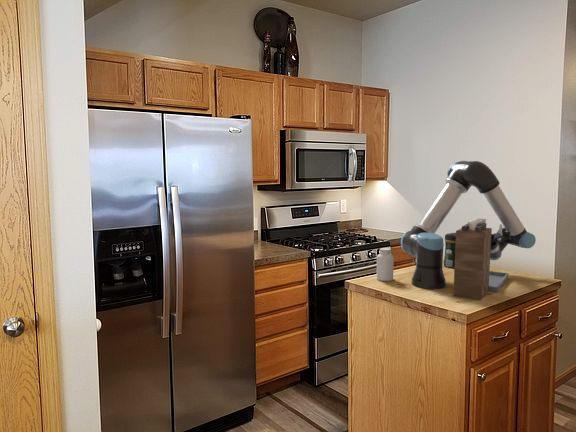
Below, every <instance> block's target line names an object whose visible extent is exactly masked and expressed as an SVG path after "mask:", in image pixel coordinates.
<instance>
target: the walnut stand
mask: <svg viewBox="0 0 576 432" xmlns="http://www.w3.org/2000/svg"><path fill="white" fill-rule="evenodd" d="M468 229H469V223H468V222H467V223H466V224H464V225H462V226H461V228H459V229H457V230H456V231H455V233H456V246H455V268H453V269H454V273H453V291H452V292H453V293H452V294H453V295H452V296H453V297H456V298H462V299H468V300H474V301H482V300H483V298H484V297H486V295H487V294H488V293H489V291H488V290H489V271H491V270H490V268H491V266H490V265H491V260H490V252H491V234H493V232H492V231H493V228H492V227H487V223H482V224H480V225H478V226H477V227H475V231H470V230H468Z"/></svg>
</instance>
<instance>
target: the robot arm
mask: <svg viewBox="0 0 576 432" xmlns="http://www.w3.org/2000/svg"><path fill="white" fill-rule="evenodd" d="M500 184H501V183H500V180H499V179H498V177H497V176H496V175H495V173H494V172H493V171H492V169H490V167H489V166H488V165H487V164H485V163H484V162H483V161H478V160H472V161H471V160H470V161H467V160H460V161H456V162H454V163H452V164H451V165H450V166H449V168H448V170H447V176H446V178H445V186H444V187H443V188H442V190H441V191H440V193H439V194H438V196H437V197H436V198H435V200H434V201H433V203H432V205H431V206H430V208H429V209H428V211H426V213H425V215H424V216H423V217H422V219H421V220H420V222H419V223H418V224H414V225H413V226H412V228H411V229H410V230H409V231H406V232H405V233H403V235H402V236H401V239H400V246H401V249H402V250H403V252H404V253H405V254H407V255H408V256H411V257H414V258H415V259H416V260H415V264H416V265H415V269H414V272H413V274H412V277H411V285H413V286H415V287H417V288H421V289H429V290H430V289H431V290H433V289H435V290H439V289H444V288H446V286H447V284H446V283H447V281H446V278H445V273H444V270H443V266H444V246H445V242H444V238H443V237H442V236H441V235H439V234H437V233H436V232H437V230H438V229H439V228H440V226H441V225H442V223H443V222H444V220H445V219H446V217H447V216H448V214H449V213H450V211H451V210H452V209H453V207H454V205H455V204H456V203H457V202H458V200H459V199H460V197H461V195H463V194H466V193H467V192H468V191H469V190H470V189H471V187H475V188H476V189H477V190H478V192H479V194H482V195H484V198H486V201H487V202H488V204H489V205H490V207H491V208H492V210H493V211H494V213H495V214H496V217H497V218H498V219H499V221H500V222H501V223H500V224H499V227H498V230H497V231H496V233H492V234H491V252H490V261H497V260H499V259H500V258H501V257H502V254H503V251H505V250H504V249H505V248H506V247H507V246H508V245H511V246H515V247H518V248H522V249H531V248H533V247H534V246H535V244H536V241H537V240H536V235H534V234H533V233H531V232H528V231H527V229H526V227H524V225H523V223H522V221H521V220H520V218H519V216H518V215H517V213H516V211H515V209H514V208H513V206H512V205H511V204H510V201H508V200H509V199H508V198H507V197H506V195H505V194H504V192H503V190H502V189H501V187H500ZM470 222H471V221H468V222H467V224H468V223H470Z"/></svg>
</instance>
